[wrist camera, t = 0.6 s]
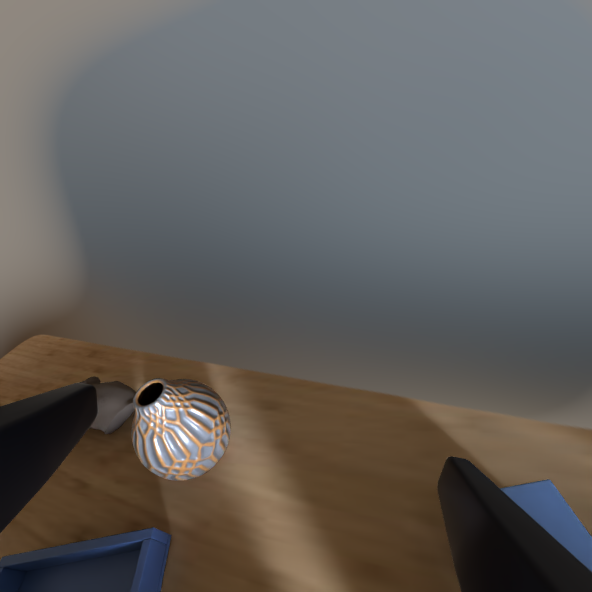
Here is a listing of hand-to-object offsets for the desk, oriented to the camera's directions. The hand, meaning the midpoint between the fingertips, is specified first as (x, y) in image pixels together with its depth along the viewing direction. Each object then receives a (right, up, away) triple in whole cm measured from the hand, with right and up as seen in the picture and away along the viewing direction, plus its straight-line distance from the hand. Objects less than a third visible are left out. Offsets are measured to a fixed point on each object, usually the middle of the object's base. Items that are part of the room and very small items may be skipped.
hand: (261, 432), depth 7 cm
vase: (-7, -10, +18) cm, 22 cm away
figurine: (-19, -10, +23) cm, 31 cm away
